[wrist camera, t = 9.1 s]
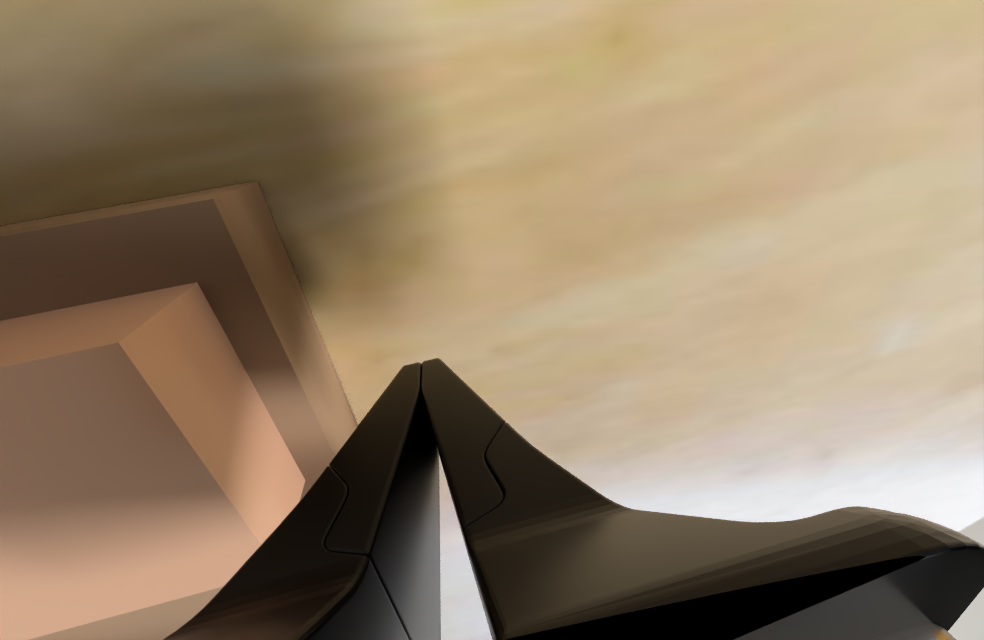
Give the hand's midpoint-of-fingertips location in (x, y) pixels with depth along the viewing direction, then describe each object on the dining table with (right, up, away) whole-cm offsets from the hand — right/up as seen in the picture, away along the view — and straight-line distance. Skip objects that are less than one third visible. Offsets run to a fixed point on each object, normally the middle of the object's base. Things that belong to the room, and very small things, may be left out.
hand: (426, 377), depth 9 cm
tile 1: (-7, -1, 0) cm, 7 cm away
